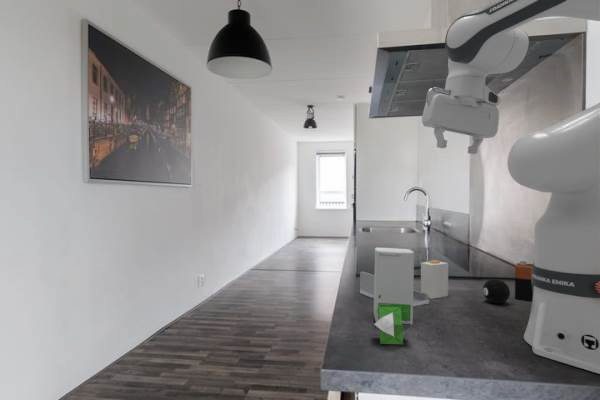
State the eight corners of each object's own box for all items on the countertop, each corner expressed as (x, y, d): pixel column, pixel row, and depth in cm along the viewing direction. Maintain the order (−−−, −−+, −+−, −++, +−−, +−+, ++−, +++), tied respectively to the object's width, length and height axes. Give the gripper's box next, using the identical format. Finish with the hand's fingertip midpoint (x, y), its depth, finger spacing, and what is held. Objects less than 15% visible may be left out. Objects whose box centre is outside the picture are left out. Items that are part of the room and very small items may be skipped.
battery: (545, 303, 94) (545, 264, 94) (514, 299, 98) (514, 261, 98) (546, 299, 97) (546, 262, 97) (516, 295, 101) (516, 259, 101)
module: (448, 296, 101) (448, 261, 101) (431, 298, 98) (432, 262, 98) (436, 292, 104) (436, 258, 104) (420, 295, 102) (421, 260, 102)
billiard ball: (478, 299, 97) (478, 277, 97) (499, 299, 98) (499, 276, 98) (492, 306, 91) (492, 282, 91) (514, 305, 92) (515, 281, 92)
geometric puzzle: (369, 320, 75) (372, 295, 70) (404, 321, 74) (408, 296, 69) (372, 353, 69) (375, 329, 64) (410, 354, 69) (415, 330, 64)
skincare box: (374, 322, 80) (374, 251, 79) (373, 313, 86) (373, 246, 86) (414, 324, 78) (415, 251, 78) (410, 314, 85) (410, 247, 85)
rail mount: (429, 303, 94) (429, 280, 94) (398, 308, 89) (398, 284, 89) (388, 289, 108) (388, 268, 108) (360, 293, 104) (360, 271, 104)
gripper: (437, 81, 83) (430, 142, 83) (506, 99, 90) (499, 155, 90) (419, 88, 89) (413, 145, 89) (485, 104, 96) (479, 157, 96)
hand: (457, 150), depth 89 cm, fingers open, 8 cm apart
